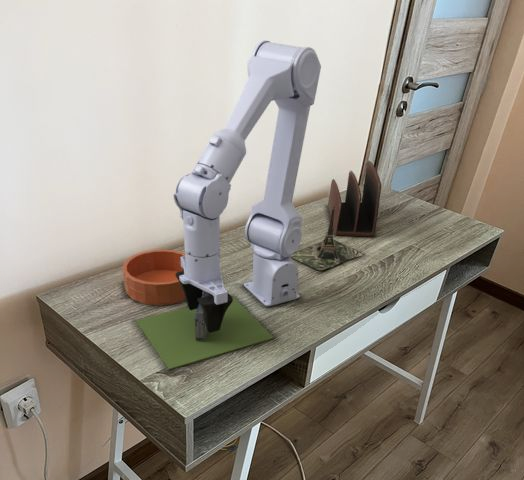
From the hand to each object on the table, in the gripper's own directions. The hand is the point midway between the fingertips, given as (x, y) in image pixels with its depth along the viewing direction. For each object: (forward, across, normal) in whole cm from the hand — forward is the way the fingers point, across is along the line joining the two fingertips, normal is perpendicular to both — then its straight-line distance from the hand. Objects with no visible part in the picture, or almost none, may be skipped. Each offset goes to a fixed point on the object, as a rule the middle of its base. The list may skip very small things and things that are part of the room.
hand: (203, 319), depth 95 cm
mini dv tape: (+2, 0, 0) cm, 2 cm away
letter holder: (+3, -29, +56) cm, 63 cm away
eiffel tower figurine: (+3, -15, +38) cm, 41 cm away
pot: (+2, -18, -1) cm, 18 cm away
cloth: (+2, 0, 0) cm, 2 cm away
